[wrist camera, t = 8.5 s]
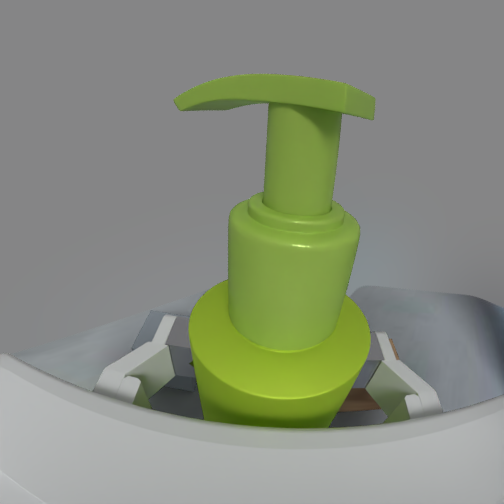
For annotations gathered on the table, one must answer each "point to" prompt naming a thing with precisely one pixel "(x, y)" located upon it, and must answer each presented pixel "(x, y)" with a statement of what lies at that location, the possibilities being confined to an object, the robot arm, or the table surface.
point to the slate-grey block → (147, 336)
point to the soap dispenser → (283, 266)
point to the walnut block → (362, 396)
